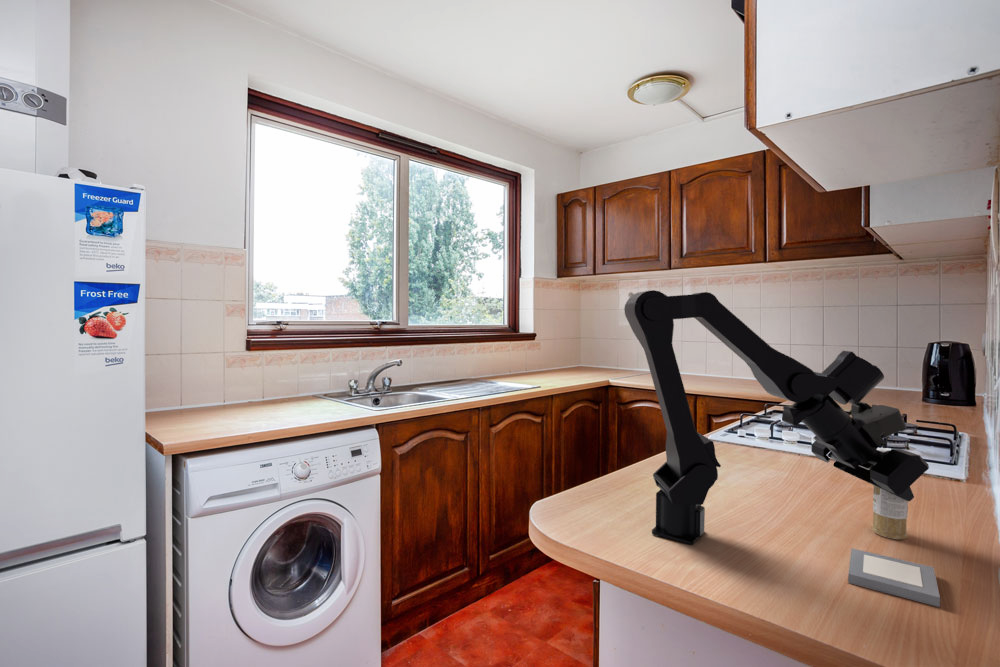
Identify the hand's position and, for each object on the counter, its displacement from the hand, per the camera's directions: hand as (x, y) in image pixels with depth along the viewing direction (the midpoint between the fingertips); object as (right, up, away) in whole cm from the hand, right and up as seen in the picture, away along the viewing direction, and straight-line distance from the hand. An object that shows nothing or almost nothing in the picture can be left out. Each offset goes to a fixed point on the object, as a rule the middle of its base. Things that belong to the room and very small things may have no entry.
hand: (899, 493), depth 79 cm
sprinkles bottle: (-1, -7, 0) cm, 7 cm away
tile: (-12, -7, -13) cm, 19 cm away
